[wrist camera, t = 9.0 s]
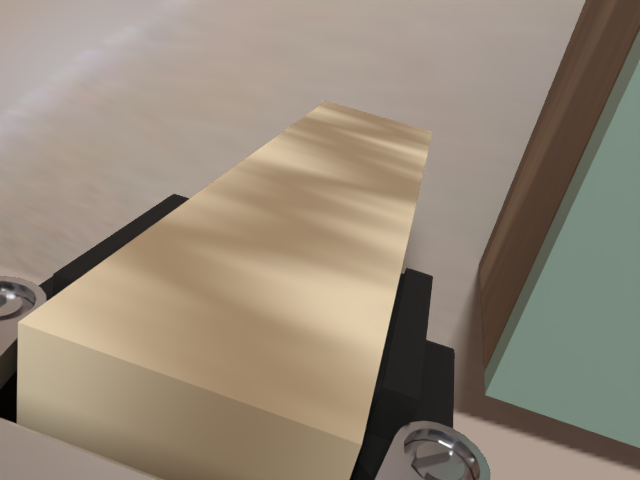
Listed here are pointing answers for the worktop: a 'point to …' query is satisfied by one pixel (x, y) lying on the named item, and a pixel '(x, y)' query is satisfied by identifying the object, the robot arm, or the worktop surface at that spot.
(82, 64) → the worktop surface
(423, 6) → the worktop surface
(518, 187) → the open wooden box
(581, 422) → the lid
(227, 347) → the block
